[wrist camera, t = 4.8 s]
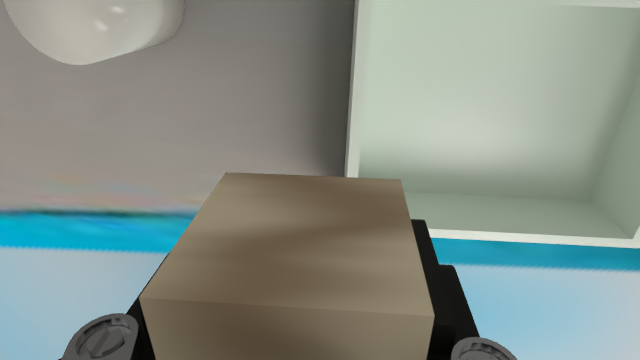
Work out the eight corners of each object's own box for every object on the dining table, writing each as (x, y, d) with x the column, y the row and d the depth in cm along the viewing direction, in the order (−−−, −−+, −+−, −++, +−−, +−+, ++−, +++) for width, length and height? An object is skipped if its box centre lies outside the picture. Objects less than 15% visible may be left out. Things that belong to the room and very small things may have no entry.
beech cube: (400, 179, 11) (434, 316, 6) (385, 311, 13) (402, 481, 8) (226, 172, 11) (138, 297, 7) (241, 301, 13) (183, 460, 9)
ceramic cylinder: (191, -31, 21) (128, -40, 15) (176, 57, 23) (116, 80, 17) (101, -66, 21) (-3, -90, 14) (95, 27, 23) (1, 41, 17)
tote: (675, -6, 20) (767, -4, 16) (589, 204, 26) (639, 248, 22) (356, -16, 21) (359, -17, 17) (343, 192, 27) (343, 232, 23)
